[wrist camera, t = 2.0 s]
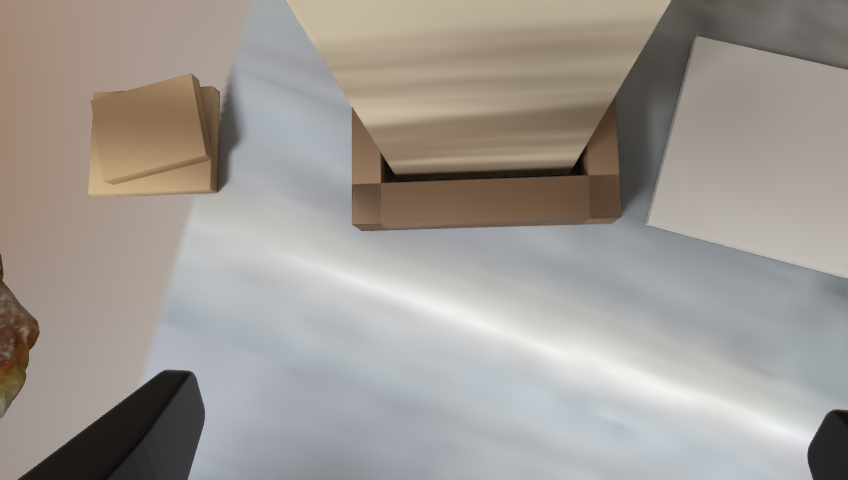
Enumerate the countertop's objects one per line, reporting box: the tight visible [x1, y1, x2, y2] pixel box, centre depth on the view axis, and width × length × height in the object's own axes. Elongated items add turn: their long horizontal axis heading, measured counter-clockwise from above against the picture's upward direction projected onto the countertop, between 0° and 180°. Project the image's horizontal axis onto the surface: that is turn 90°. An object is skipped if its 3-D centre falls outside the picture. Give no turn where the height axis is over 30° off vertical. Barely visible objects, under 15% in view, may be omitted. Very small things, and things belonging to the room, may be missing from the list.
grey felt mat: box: [645, 36, 848, 279], centre depth 21 cm, size 7×7×1 cm
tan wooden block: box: [286, 0, 671, 180], centre depth 15 cm, size 4×6×14 cm, turn 91°
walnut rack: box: [352, 97, 622, 231], centre depth 21 cm, size 7×9×2 cm
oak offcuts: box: [88, 74, 220, 197], centre depth 23 cm, size 4×5×1 cm
